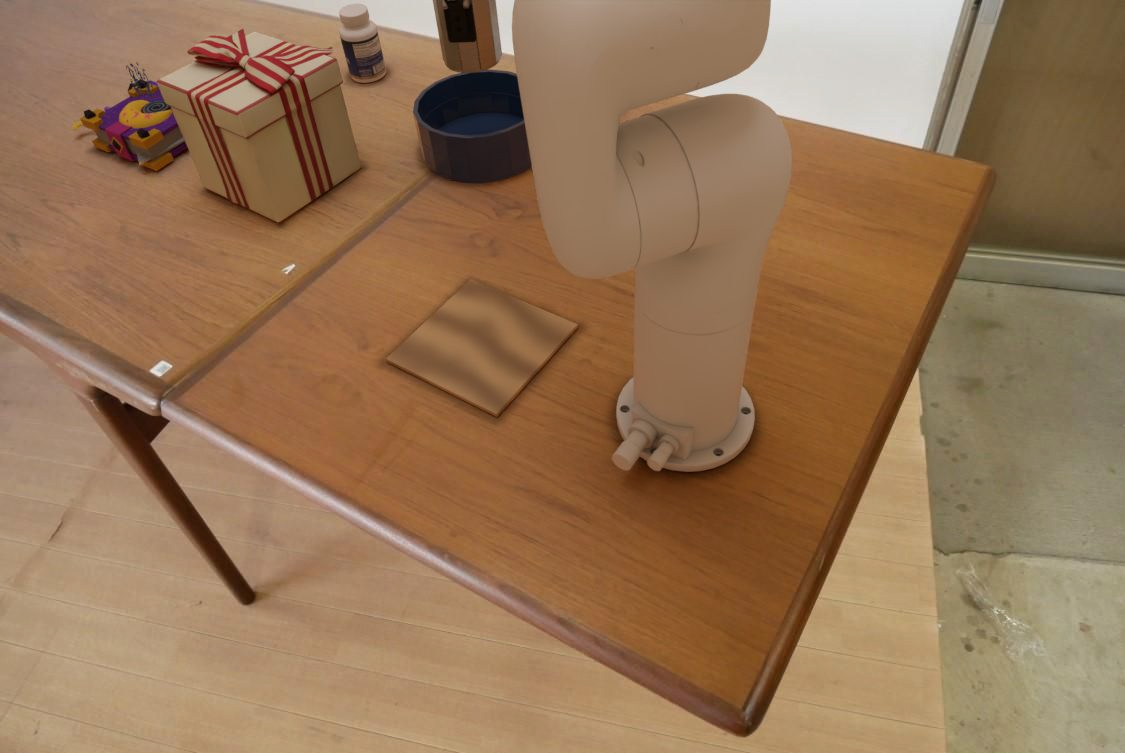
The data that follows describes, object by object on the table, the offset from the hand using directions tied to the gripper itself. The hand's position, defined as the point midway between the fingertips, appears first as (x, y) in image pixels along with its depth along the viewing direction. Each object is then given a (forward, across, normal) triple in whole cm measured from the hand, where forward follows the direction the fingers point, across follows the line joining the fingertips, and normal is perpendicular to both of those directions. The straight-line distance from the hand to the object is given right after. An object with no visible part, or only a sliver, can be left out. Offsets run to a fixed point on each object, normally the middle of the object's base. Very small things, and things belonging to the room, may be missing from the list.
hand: (467, 24), depth 98 cm
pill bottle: (+16, +20, +20) cm, 33 cm away
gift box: (+17, -4, +25) cm, 31 cm away
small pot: (+4, 0, 0) cm, 4 cm away
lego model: (+16, +3, +45) cm, 48 cm away
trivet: (+17, -35, -4) cm, 40 cm away
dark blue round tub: (+17, +1, 0) cm, 17 cm away
